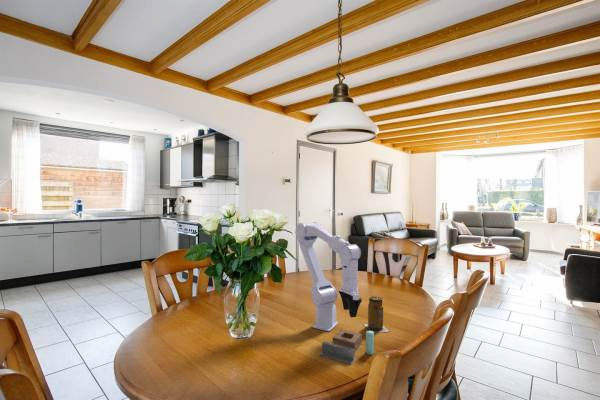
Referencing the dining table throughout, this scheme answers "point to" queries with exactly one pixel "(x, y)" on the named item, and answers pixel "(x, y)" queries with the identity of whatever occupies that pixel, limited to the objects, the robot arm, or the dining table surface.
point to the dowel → (369, 342)
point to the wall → (338, 352)
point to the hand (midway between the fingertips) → (349, 313)
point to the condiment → (375, 315)
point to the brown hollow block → (348, 339)
